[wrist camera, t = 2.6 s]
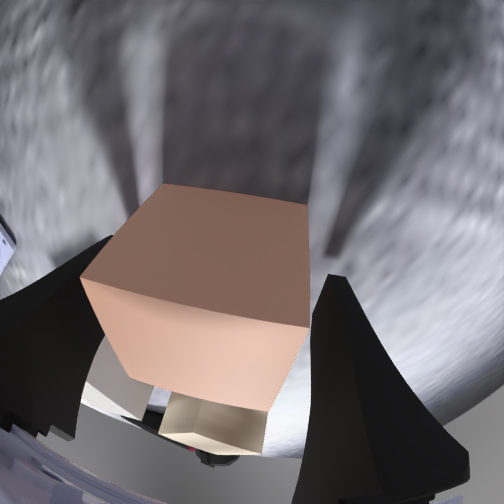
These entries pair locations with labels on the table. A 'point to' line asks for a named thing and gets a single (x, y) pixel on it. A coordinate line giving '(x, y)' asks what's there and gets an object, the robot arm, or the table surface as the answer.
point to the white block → (114, 385)
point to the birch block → (214, 426)
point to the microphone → (152, 425)
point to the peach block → (206, 293)
